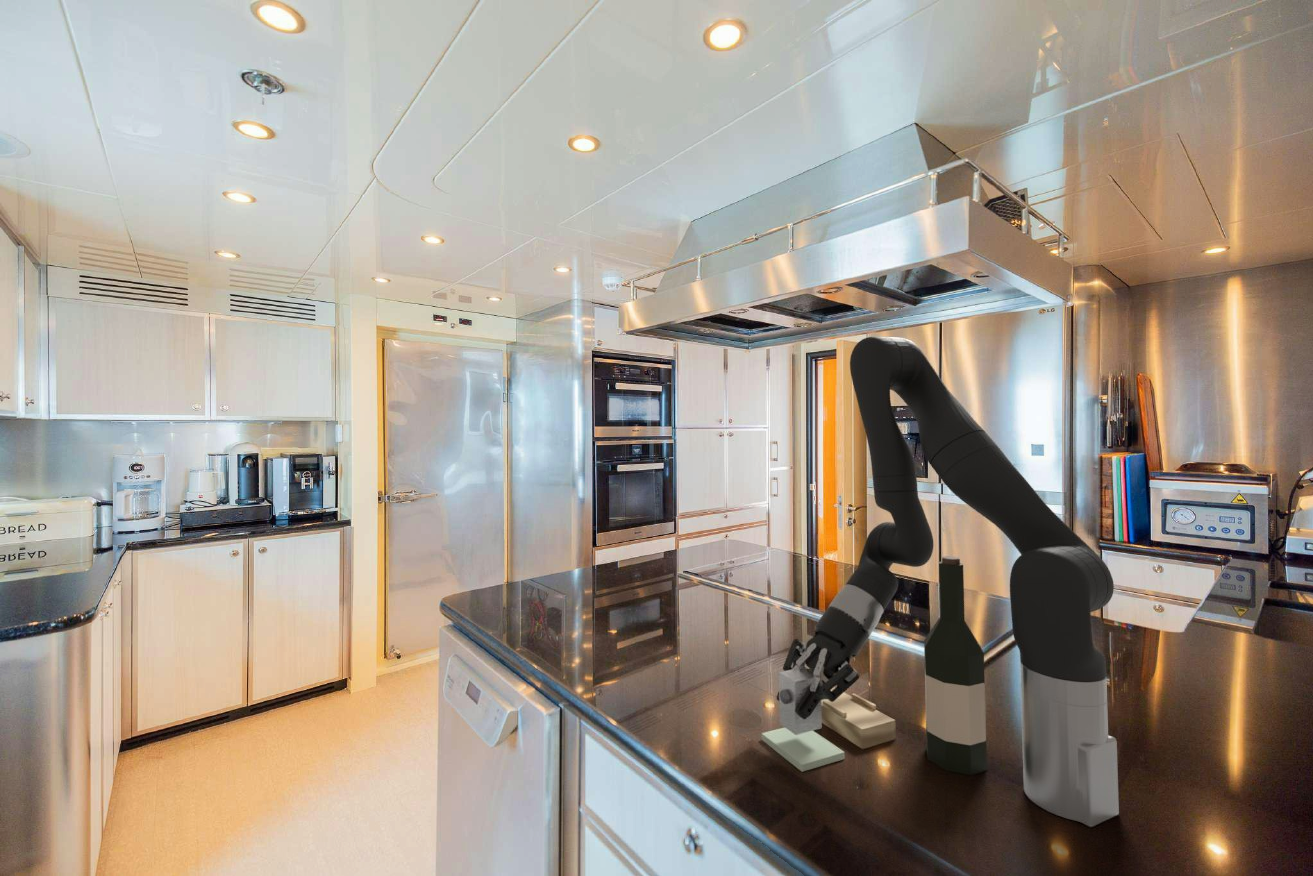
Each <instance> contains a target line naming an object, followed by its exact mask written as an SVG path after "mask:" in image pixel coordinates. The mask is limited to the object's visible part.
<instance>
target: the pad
mask: <svg viewBox="0 0 1313 876" xmlns="http://www.w3.org/2000/svg"><path fill="white" fill-rule="evenodd" d="M761 740H762V741H763V742H764V743H765V744H766V745H768V746H769V748H771V749H773V750H774V751H775V752H776V753H778V754H779V755H780V756H781V757H783V758H784V759H785V760H786V761H788V762H789V763H790V764H792V765H793V766H794V767H795V768H796V769H798V770H799V771H801V772H805V771H809V770H812V769H816V768H819V767H820V768H821V767H822V766H825V765H830V764H832V763H836V762H839V761H843V760H845V759H846V757H845V751H844V750H842V749H841V748H839V747H837V746H836V745H835V744H834V743H832V742H831V741H829V740H828V739H826V738H825V737H823V736H821V735H820V734H819V733H818V732H815V730H813V731H809V732H806V733H802V734H798V735H795V734H793V733H792V732H791V731H789V730H788V729H787V728H785V727H784V726H783V727H781V728H776V729H773V730H768V731H764V732H761Z"/></svg>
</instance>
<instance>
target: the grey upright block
mask: <svg viewBox="0 0 1313 876" xmlns="http://www.w3.org/2000/svg"><path fill="white" fill-rule="evenodd" d="M809 669H810V668H807V667H806V668H803V669H799V668H797V669H792V670H787V671H784V670H783V671H778V692H779V701H778V705H779V706H778V707H779V708H778V711H779V717H778V719H779V721H778V722H779V724H780V726H783V728H784V727H785V728H787V729H788V730H789V731H791V732H792V733H793V734H795V735H798V734H802V733H806V732H809V731H815V730H820V729H822V727H823V723H822V705H821V700H820V701H819V703H818V704H817V706H816V708H815V709H814V711H813V712H812V714H811V715H810V716H809V717H807V718H806V719H803V718H801V717H800V716H799V715H798V714H797V713H796V712H795V708H796V707H797V705H798V704H799V702H800V701H801V699H802V698H803V696H804V695H805V693H806V692H807V690H808V691H810V686H811V684H812V682H813V680H814V679H815V677H814V675H813V671H811V670H809ZM820 686H821V684H820Z"/></svg>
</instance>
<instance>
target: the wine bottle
mask: <svg viewBox="0 0 1313 876" xmlns="http://www.w3.org/2000/svg"><path fill="white" fill-rule="evenodd" d="M938 575H939V576H938V577H939V578H938V579H939V584H938V585H939V618H938V619H937V620H936V622H935V624H934V625H933V627H932V628H931V629H930V631H929V633H928V634H927V635H926V637H925V638H924V640H923V646H924V648H923V651H924V653H923V655H924V689H925V690H924V692H925V693H924V696H925V701H924V702H925V734H926V735H925V737H926V738H925V740H926V741H925V742H926V755H927V760H928V761H930V762H932V763H934V764H935V765H936V766H938V767H940V768H941V769H943V770H944V771H948V772H953V773H958V774H964V775H969V776H973V775H976V774H978V773H983V772H986V771H988V764H987V762H988V761H987V760H988V759H987V758H988V757H987V727H986V725H987V723H986V722H987V721H986V715H987V714H986V685H985V684H986V682H985V681H986V680H985V654H984V650H983V649H982V646H981V645H980V643H979V641H978V640H977V638H976V637H975V635H974V634H973V631H972V630H971V628H970V627H969V625H968V624H967V622H966V620H965V619H966V617H965V590H964V589H965V587H964V585H965V583H964V582H965V581H964V577H965V576H964V564H963V562H961V558H960V557H958V556H948V555H947V556H941V561H939V562H938Z"/></svg>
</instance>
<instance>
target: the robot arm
mask: <svg viewBox="0 0 1313 876" xmlns="http://www.w3.org/2000/svg"><path fill="white" fill-rule="evenodd" d="M850 354H851V355H850V358H849V371H850V376H851V381H852V386H853V390H854V393H855V396H856V401H857V404H858V409H859V412H860V417H861V420H862V424H863V428H864V430H865V435H866V440H867V444H868V450H869V455H870V462H871V463H870V464H871V473H872V481H873V482H872V485H873V486H872V487H873V495H874V496H873V497H874V502H875V504H876V506H877V507H878V508H880V509H882V510H884V511H886V512H888V513H890V515H891V517H892V520H893V522H891V521H885V522H881V523H879V524H877V525H876V526H875V527H874V528H872V529H871V531H870V532H869V534H868V536H867V538H866V540H865V542H864V546H863V548H862V553H861V555H860V558H859V562H858V565H857V568H856V569H855V570H854V571H853V573H852V575H851V576H850V577H849V579H848V580H847V582H846V583H845V585H844V586H843V588H842V589H840V591H839V592H838V593H836V595H835V597H834V598H833V599H832V601H831V602H830V604H829V605H828V606H827V608H826V609H825V611H824V612H823V614H822V616H821V617H820V618H819V620H818V622H817V623H816V624H815V626H814V636H813V637H811V638H810V639H808V640H807V642H806V641H805V642H804V641H800V640H799V639H798V638H795V639H793V640H792V642H791V645H790V648H789V650H788V652H787V656H786V657H785V661H784V663H783V666H782V670H783V671H787V670H792V669H797V668H799V669H803V668H807V667H808V669H809V670H811V671H813V675H814V677H815V679H814V680H813V682H812V684H811V686H810V691H808V690H807V692H806V693H805V695H804V696H803V698H802V699H801V701H800V702H799V704H798V705H797V707H796V708H795V712H796V713H797V714H798V715H799V716H800V717H801V718H803V719H806V718H807V717H809V716H810V715H811V714H812V712H813V711H814V709H815V708H816V706H817V704H818V703H819V701H820V700H824V699H828V700H829V701H830V702H833V701H835V700H836V699H837V698H838V697H839V696H840V695H841V694H842V693H846V691H847V690H848V689H849V688H850V687H852V685H853V684H855V683H856V682H857V681H858V680H859V679H860V674H859V673H858V672H857V670H856V669H855V668H854V667H853V666H852V665H851V664H850V663H851V659H853V658H855V659H856V657H857V656H858V655H859V654H860V652H861V650H862V648H863V647H864V646H865V644H866V642H867V641H868V640H869V638H870V636H871V634H872V633H873V631H874V630H875V628H877V625H878V624H879V622H880V620H881V617H882V615H883V613H884V611H885V610H886V608H887V606H888V605H889V603H891V600H893V598H894V596H895V594H896V592H897V590H898V588H899V581H898V578H897V576H896V575H895V574H894V573H893V572H892V570H890V568H891V566H892V565H893V564H897V565H901V566H907V567H912V568H916V567H917V568H919V567H921V566H922V567H923V566H924V565H926V564H927V563H928V562H930V561H929V560H930V559H931V557H932V555H933V551H934V538H933V533H932V529H931V527H930V524H929V522H928V519H927V517H926V513H925V510H924V508H923V505H922V503H921V501H920V498H919V492H918V478H917V470H916V469H917V468H916V463H915V459H914V455H913V452H912V450H911V447H910V446H909V443H908V442H907V440H906V438H905V436H904V434H903V432H902V430H901V429H900V427H899V424H898V423H897V420H896V417H895V414H894V412H893V408H892V401H891V391H892V392H894V393H896V394H897V395H898V396H899V398H901V400H903V402H904V403H905V404H906V405H907V406H908V408H909V409H910V411H911V412H912V414H913V416H914V417H915V420H916V422H917V428H918V434H919V441H920V446H921V450H922V452H923V456H924V457H925V459H926V461H927V462H928V464H929V465H930V467H932V469H933V470H934V472H935V473H936V474H937V476H938V477H939V479H941V481H942V482H943V483H944V485H946V487H947V488H948V490H950V491H951V492H952V494H954V495H955V496H956V497H957V498H958V499H960V500H961V501H962V502H963V503H965V504H966V505H967V506H969V507H970V508H971V509H973V510H974V511H975V512H977V513H978V514H979V515H981V516H982V517H984V518H986V520H988V521H989V522H991V523H992V524H993V525H995V526H996V527H997V528H998V529H999V530H1000V531H1001V532H1003V534H1004V535H1005V536H1006V537H1007V538H1008V539H1009V541H1010V542H1011V544H1012V545H1014V548H1016V550H1017V551H1018V553H1019V554H1020V556H1018V557H1017V558H1016V560H1015V561H1014V563H1013V565H1012V567H1011V571H1010V577H1009V599H1010V600H1009V601H1010V610H1011V611H1010V612H1011V613H1010V614H1011V625H1012V627H1011V628H1012V635H1013V639H1014V642H1015V644H1016V646H1017V648H1018V649H1019V659H1020V660H1019V661H1020V700H1021V701H1020V703H1021V736H1022V737H1021V738H1022V739H1021V740H1022V741H1021V743H1022V744H1021V745H1022V767H1023V768H1022V775H1023V776H1022V777H1023V791H1024V794H1025V795H1026V797H1027V798H1028V799H1029V800H1030V801H1031V802H1033V803H1034V804H1035V805H1037V806H1038V807H1040V808H1041V809H1043V810H1045V811H1047V812H1048V813H1051V814H1054V815H1056V816H1059V817H1062V818H1064V819H1067V820H1072V821H1075V822H1080V823H1082V824H1084V826H1085V825H1086V826H1087V827H1089V828H1093V827H1095V826H1096V825H1099V824H1101V823H1103V822H1105V821H1107V820H1110V819H1112V818H1114V817H1116V816H1118V815H1119V813H1120V811H1119V810H1120V809H1119V806H1120V805H1119V779H1118V778H1119V776H1118V774H1119V773H1118V745H1117V743H1118V742H1117V738H1115V737H1114V736H1111V735H1110V734H1109V724H1108V723H1109V722H1108V721H1109V720H1108V719H1109V717H1108V716H1109V715H1108V690H1107V689H1108V688H1107V684H1108V683H1107V659H1106V656H1105V655H1104V653H1103V652H1102V651H1101V650H1100V649H1099V648H1097V647H1096V646H1095V645H1094V641H1093V631H1092V630H1093V629H1092V620H1091V619H1092V617H1091V616H1092V615H1091V614H1092V613H1093V612H1096V611H1099V610H1100V609H1102V608H1104V607H1106V605H1108V604H1109V603H1110V601H1111V599H1112V597H1113V595H1114V591H1115V587H1114V580H1113V576H1112V574H1111V571H1110V569H1109V567H1108V566H1107V564H1106V562H1105V561H1104V560H1103V559H1102V558H1101V556H1099V554H1097V553H1096V552H1095V550H1094V549H1092V547H1090V545H1088V543H1086V542H1085V541H1084V540H1083V539H1082V538H1081V537H1080V536H1079V535H1078V534H1076V533H1075V531H1073V530H1072V529H1071V528H1070V527H1069V525H1067V524H1066V523H1065V522H1064V521H1063V519H1061V518H1060V517H1059V516H1058V515H1057V514H1056V513H1055V512H1054V511H1053V509H1051V508H1050V507H1049V506H1048V505H1047V503H1045V501H1043V499H1042V498H1041V497H1040V496H1039V494H1038V493H1037V492H1036V491H1035V489H1034V488H1033V486H1032V485H1031V484H1030V483H1029V482H1028V481H1027V480H1026V478H1025V477H1024V476H1023V474H1021V473H1020V471H1019V470H1018V469H1017V468H1016V467H1015V466H1014V465H1013V463H1012V462H1011V461H1010V460H1009V458H1008V457H1007V456H1006V455H1005V453H1004V452H1003V451H1002V450H1001V448H1000V447H999V446H998V444H996V442H995V441H994V440H993V439H992V438H991V437H990V435H988V433H987V432H986V430H984V429H983V427H982V426H981V425H979V423H978V422H977V421H976V420H975V419H974V418H973V417H972V416H971V414H970V413H969V412H968V410H966V408H965V407H964V406H963V405H962V403H961V402H960V401H959V400H958V399H957V398H956V396H955V395H954V394H953V393H951V391H950V390H949V389H948V387H947V386H946V384H944V382H943V380H942V379H941V377H940V376H939V375H938V373H937V371H935V368H934V367H933V366H932V364H931V362H930V361H929V359H928V358H927V357H926V355H925V354H924V352H923V350H922V349H921V348H920V347H919V346H918V345H917V344H916V343H915V342H913V341H912V340H910V339H907V338H904V337H898V336H894V337H892V336H868V337H865V338H862V339H861V340H860V341H858V342H857V343H856V344H855V345H854V347H853V349H852V351H851V353H850ZM820 684H821V686H820ZM833 687H835V689H834V690H833V691H831V689H832V688H833ZM776 700H777V701H778V702H779V691H777V696H776Z"/></svg>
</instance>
